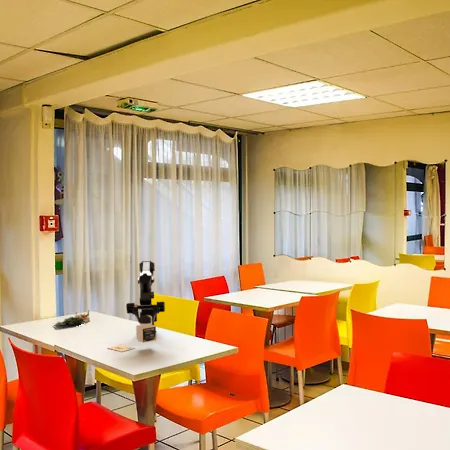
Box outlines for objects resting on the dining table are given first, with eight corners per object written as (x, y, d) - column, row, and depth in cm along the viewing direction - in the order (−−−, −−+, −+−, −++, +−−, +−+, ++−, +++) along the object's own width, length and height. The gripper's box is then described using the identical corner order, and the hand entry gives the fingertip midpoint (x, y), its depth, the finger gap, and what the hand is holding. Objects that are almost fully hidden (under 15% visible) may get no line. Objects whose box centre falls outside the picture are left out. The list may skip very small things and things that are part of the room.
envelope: (107, 348, 255) (107, 347, 255) (121, 345, 261) (121, 344, 261) (121, 352, 248) (121, 351, 248) (135, 348, 254) (135, 347, 254)
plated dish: (90, 317, 338) (90, 305, 338) (110, 324, 316) (110, 312, 316) (36, 326, 316) (36, 314, 315) (54, 334, 294) (53, 322, 294)
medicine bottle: (143, 342, 248) (142, 318, 248) (136, 340, 254) (135, 315, 254) (156, 340, 253) (155, 315, 252) (149, 337, 258) (148, 313, 258)
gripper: (125, 286, 256) (125, 313, 245) (164, 285, 258) (164, 311, 248) (127, 299, 264) (126, 326, 254) (164, 298, 266) (165, 324, 256)
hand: (145, 321), depth 252 cm, fingers closed on medicine bottle, 6 cm apart
